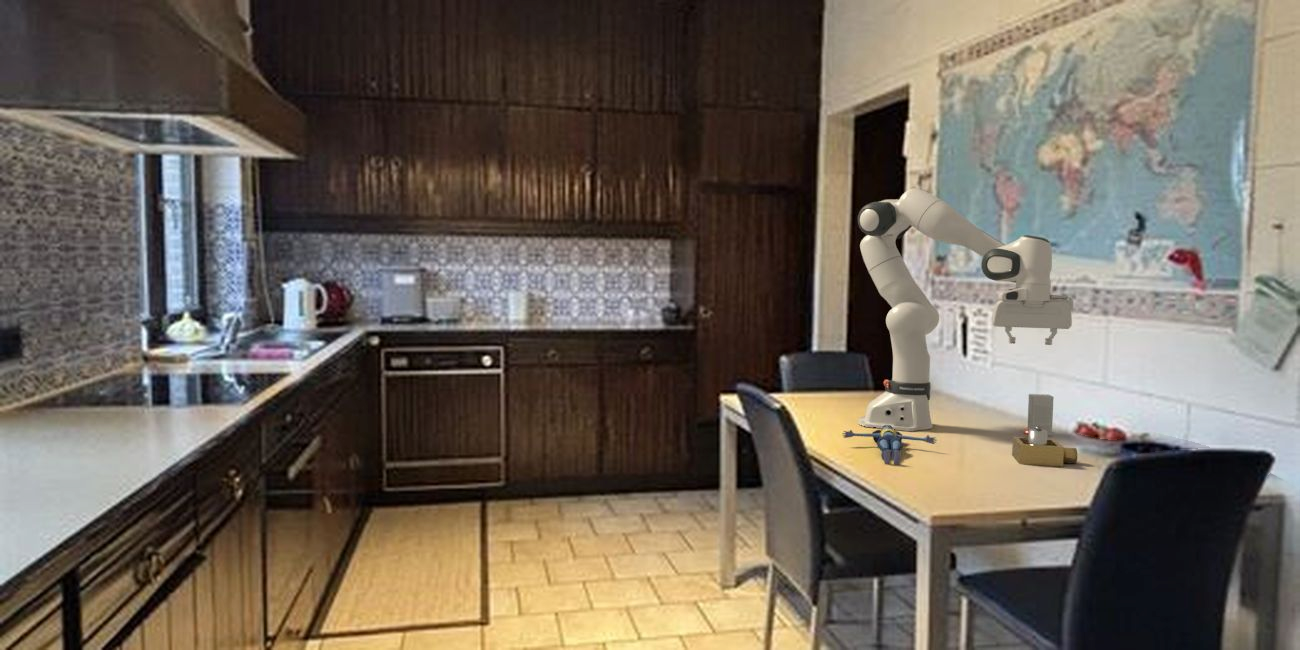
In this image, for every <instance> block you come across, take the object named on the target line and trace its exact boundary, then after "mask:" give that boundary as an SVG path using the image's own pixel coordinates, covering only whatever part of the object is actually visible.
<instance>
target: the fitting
mask: <svg viewBox="0 0 1300 650" xmlns="http://www.w3.org/2000/svg"><path fill="white" fill-rule="evenodd" d="M1022 431H1023V432H1022V434H1024V435H1026V436H1029V429H1028V428H1027V429H1023V430H1022ZM1028 438H1029V437H1023V436H1012V449H1011V456H1012V457H1013V458H1014V460H1015V461H1016V462H1017V463H1018V464H1019V465H1028V466H1030V465H1031V466H1042V467H1043V466H1045V467H1057V466H1060V468H1063V467H1064V464H1073V463H1074V465H1075V464H1077V462H1078V449H1077V447H1064V446H1063V445H1062V444H1061V443H1059V442H1058V441H1057V439H1055V438H1047V445H1032V444H1028Z"/></svg>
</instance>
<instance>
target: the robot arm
mask: <svg viewBox="0 0 1300 650" xmlns="http://www.w3.org/2000/svg"><path fill="white" fill-rule="evenodd" d="M857 224H858V227H859V229H860V231H861V232H863V234H865V236H864V237H863V238H862V239H861V241H860V244H859V248H860V252H861V256H862V260H863V263H864V264H865V267H866V268H867V272H868V274H869V275H870V277H871V280H872V281H873V283H874V285H875V287H876V289H877V291H878V293H879V295H880V296H881V297H882V298H883V299H884V300H885V301H886V302H887V304H888V305H890V307H891V309H890V310H889V311H888V313H887V315H886V317H885V324H886V327H887V329H888V331H889V335H890V342H891V349H892V378H891V380H889V379H884V381H883V386H884V389H885V391H884V392H883V393H881V394H880V395H878V396H877V397H875V398H874V399H872V400H871V401H870V402H869V403H868V404H867V407H866V408H865V414H864V415H865V416H861V417H859V418H858V420H857V421H858V422H857V423H858V425H859V424H860V426H861V425H862V426H861V427H864V426H865V427H866V428H873V427H876V428H875V429H882V428H883V426H884V425H891V426H892V428H893V430H894V429H895V431H906V432H915V431H920V430H921V431H924V430H930V429H932V428H933V423H932V418H931V411H930V398H931V388H932V387H931V382H930V368H931V356H930V354H929V350H928V347H927V345H928V344H927V339H926V337H927V335H929V334H931V332H933V331H934V330H935V329H936V328H937V326H938V324H939V322H940V314H939V311H938V310H937V308H936V307H935V305H933V304H932V303H931V302H930V300H929V298H928V297H927V296H926V295H925V292H924V291H923V290H922V289H921V288H920V286H919V285H918V284H917V282H916V281H915V279H914V278H913V275H912V274H911V272H910V270H909V268H908V266H907V264H906V262H905V261H904V259H903V257H902V255H901V253H900V251H899V249H898V248H897V245H896V240H899V239H902V238H903V237H904V235H905V234H906V233H907V232H908V231H909V230H910V229H911V228H912V227H913V228H915V230H916V231H918V232H920V233H921V234H922V235H924V236H926V237H927V238H930V239H932V240H934V241H936V242H940V243H945V244H952V245H955V246H956V245H957V246H961V247H964V248H967V249H968V250H971V251H973V252H974V253H976V254H977V255H979V256H981V257H982V259H981V264H980V265H981V266H980V267H981V271H982V273H983V275H984V277H986V278H987V279H989V280H992V281H995V282H1004V283H1005V282H1007V283H1008V282H1009V283H1014V284H1015V286H1014V287H1015V288H1009V289H1007V290H1003V291H999V292H998V294H997V299H999V300H997V301H996V302H995V304H994V307H993V311H992V317H991V323H992V325H993V326H994V327H998V328H999V327H1000V328H1004V331H1005V333H1006V334H1007V337H1008V343H1009V344H1016V336H1013V335H1012V334H1011V331H1012V329H1013V328H1026V329H1027V328H1028V329H1029V328H1031V329H1049V332H1050V333H1051V334H1050V335H1049V336H1048V337H1045V338H1044V341H1045V342H1044V344H1045V345H1046V346H1052V345H1053V339H1054V338H1055V336H1056V335H1057V334H1058V330H1068V329H1070V328H1072V324H1073V319H1072V310H1073V309H1074V308H1073V307H1074V300H1073V298H1072V297H1070V296H1069V295H1066V294H1062V295H1058V294H1051V291H1052V290H1051V286H1052V285H1051V284H1052V281H1051V277H1050V275H1051V272H1052V269H1053V268H1052V267H1053V250H1052V249H1053V248H1052V245H1051V242H1050V240H1049V239H1047V238H1046V237H1041V236H1037V235H1036V236H1035V235H1028V234H1026V235H1022V236H1020V237H1019V238H1018V239H1016V240H1015V241H1012V242H1009V243H1008V244H1006V243H1005V244H1004V243H1003V242H1001V241H1000V240H997V238H994V237H993V236H991V235H990V234H988V233H986V232H985V231H983V230H982V229H980V228H979V227H977V226H976V225H975V224H973V223H972V222H971V221H969V220H968V219H967V218H966V217H965V216H963V215H962V214H960V212H958V211H957V210H956V209H955V208H953V207H952V206H951V205H949V204H948V203H946V202H945V201H944V200H943V199H941V198H940V197H937V196H935V195H934V194H932V193H929V192H927V191H925V190H922V189H919V188H917V187H916V188H913V187H912V188H909V189H908V190H906V191H904V193H902V195H901V196H900V197H899V198H897V199H883V200H881V201H880V200H879V201H873V202H870V203H867V204H866V205H864V206H863V207H862V208H861V209H860V210H859V212H858V215H857Z"/></svg>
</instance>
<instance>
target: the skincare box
mask: <svg viewBox="0 0 1300 650" xmlns="http://www.w3.org/2000/svg"><path fill="white" fill-rule="evenodd" d="M1054 399H1055V398H1054V396H1052V395H1051V394H1038V393H1037V394H1036V393H1035V394H1034V393H1029V394H1028V404H1027V405H1028V406H1027V407H1028V408H1027V429H1035V427H1036V426H1039V427H1041V430H1046V431H1047V436H1053V418H1054Z"/></svg>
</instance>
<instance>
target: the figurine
mask: <svg viewBox="0 0 1300 650" xmlns="http://www.w3.org/2000/svg"><path fill="white" fill-rule="evenodd" d="M842 437H843V438H844V439H847V438H853V437H864V438H865V437H866V438H869V437H871V438H873V439H872V440H873V441H874V442H875V443H876V445H877V448H878V449H879V450H880V451H881V453H880V454H881V455H880V456H881V460H882V461H883V463H884V465H890V463H891V458H892V461H893V464H894V466H899V465H900V462H901V457H902V453H901V451H902V449H903V441H902V440H910V441H911V440H912V441H922V442H925V443H927V444H931V445H935V444H937V441H938V440H937V439H936V437H937V436H935V437H934V436H933V437H931V436H929V434H927V435H926V436H925V437H916V436H909V435H903V434H902V433H901V432H899V431H898V430H894V429H893V428H892V426H891V425H884V426H883V428H881V429H877V430H873V431H872V433H871V432H870V433H857V432H856V433H854V432H853V431H852V430H851V429H850V430H849V431H847V430H843V433H842Z"/></svg>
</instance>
